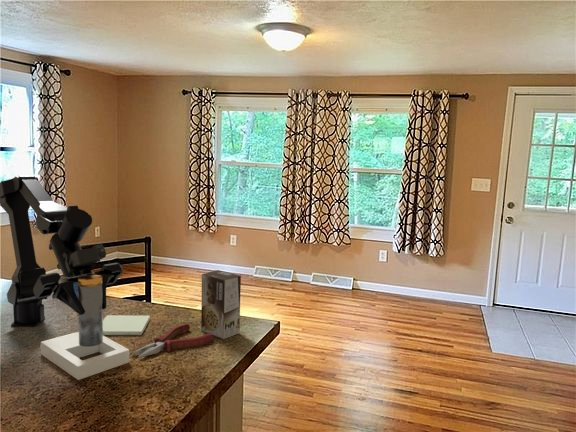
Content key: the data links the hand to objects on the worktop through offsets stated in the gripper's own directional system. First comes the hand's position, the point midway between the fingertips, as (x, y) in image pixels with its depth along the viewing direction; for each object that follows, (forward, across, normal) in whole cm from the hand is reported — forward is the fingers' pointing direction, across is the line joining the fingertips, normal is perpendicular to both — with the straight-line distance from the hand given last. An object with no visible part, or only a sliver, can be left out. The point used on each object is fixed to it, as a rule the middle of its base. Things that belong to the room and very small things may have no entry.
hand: (93, 311), depth 105 cm
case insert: (+6, 0, +12) cm, 13 cm away
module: (+4, 0, +6) cm, 8 cm away
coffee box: (+13, +33, +5) cm, 36 cm away
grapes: (-23, +20, +41) cm, 51 cm away
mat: (-2, +17, +20) cm, 26 cm away
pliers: (+11, +19, +8) cm, 23 cm away
